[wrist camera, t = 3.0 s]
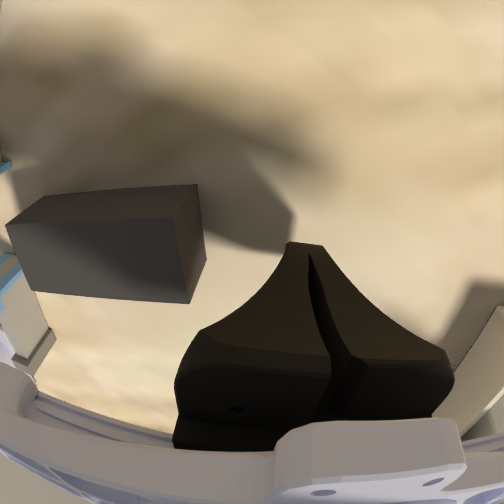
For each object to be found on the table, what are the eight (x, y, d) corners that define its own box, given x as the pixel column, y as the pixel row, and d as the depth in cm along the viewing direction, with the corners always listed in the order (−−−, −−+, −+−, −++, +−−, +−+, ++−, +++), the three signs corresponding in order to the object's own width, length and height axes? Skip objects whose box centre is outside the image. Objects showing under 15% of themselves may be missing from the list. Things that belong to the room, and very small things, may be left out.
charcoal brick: (64, 254, 15) (31, 290, 12) (45, 194, 13) (4, 225, 10) (207, 256, 14) (189, 303, 11) (198, 182, 12) (173, 216, 10)
